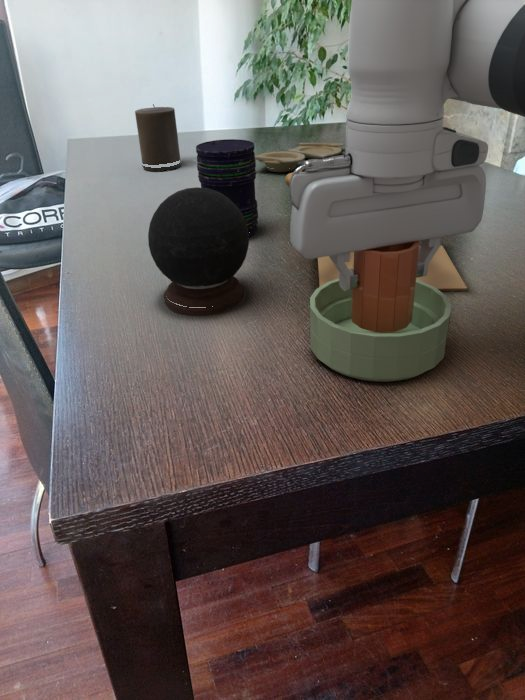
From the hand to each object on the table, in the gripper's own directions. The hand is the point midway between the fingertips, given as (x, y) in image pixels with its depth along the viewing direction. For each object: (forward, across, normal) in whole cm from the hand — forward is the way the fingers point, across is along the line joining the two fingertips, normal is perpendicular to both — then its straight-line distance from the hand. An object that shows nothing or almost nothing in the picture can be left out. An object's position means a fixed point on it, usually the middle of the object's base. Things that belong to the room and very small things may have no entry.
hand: (383, 281), depth 61 cm
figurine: (+9, +4, +36) cm, 37 cm away
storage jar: (+8, -6, +45) cm, 46 cm away
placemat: (+8, +11, +20) cm, 25 cm away
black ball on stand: (+8, -16, +21) cm, 28 cm away
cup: (+4, 0, 0) cm, 4 cm away
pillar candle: (+8, -11, +100) cm, 101 cm away
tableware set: (+9, +28, +82) cm, 87 cm away
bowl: (+8, 0, 0) cm, 8 cm away
